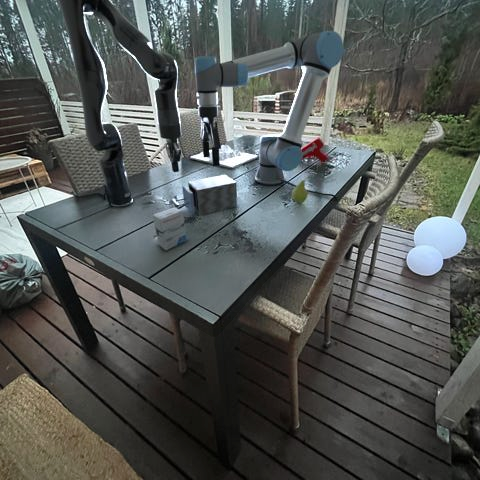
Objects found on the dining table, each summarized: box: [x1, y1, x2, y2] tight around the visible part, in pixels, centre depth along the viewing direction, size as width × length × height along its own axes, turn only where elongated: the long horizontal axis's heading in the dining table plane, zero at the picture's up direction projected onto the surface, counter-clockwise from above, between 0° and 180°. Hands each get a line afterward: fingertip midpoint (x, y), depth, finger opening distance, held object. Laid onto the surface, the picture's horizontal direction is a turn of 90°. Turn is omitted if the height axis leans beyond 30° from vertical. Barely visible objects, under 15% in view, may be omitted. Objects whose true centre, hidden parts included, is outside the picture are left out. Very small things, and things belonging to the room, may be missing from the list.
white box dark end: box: [187, 174, 238, 216], centre depth 116 cm, size 17×11×11 cm, turn 119°
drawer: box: [170, 184, 199, 215], centre depth 113 cm, size 22×10×9 cm, turn 119°
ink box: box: [152, 206, 187, 251], centre depth 91 cm, size 8×5×12 cm, turn 135°
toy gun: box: [301, 136, 329, 165], centre depth 169 cm, size 18×4×15 cm
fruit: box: [291, 174, 311, 204], centre depth 118 cm, size 7×8×12 cm
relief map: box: [190, 144, 259, 169], centre depth 178 cm, size 27×35×5 cm
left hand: (175, 171), depth 103 cm, fingers closed
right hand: (211, 161), depth 114 cm, fingers open, 13 cm apart
